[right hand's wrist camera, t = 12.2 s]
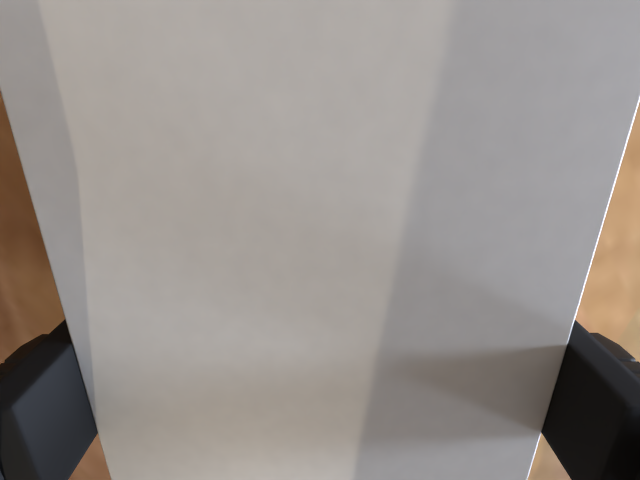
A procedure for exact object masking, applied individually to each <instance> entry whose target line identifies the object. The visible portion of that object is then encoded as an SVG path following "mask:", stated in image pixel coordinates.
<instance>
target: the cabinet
mask: <svg viewBox="0 0 640 480" xmlns="http://www.w3.org/2000/svg"><path fill="white" fill-rule="evenodd" d="M0 91H1V95H2V98H3V102H4V105H5V109H6V112H7V116H8V119H9V123H10V126H11V130H12V133H13V137H14V140H15V144H16V147H17V151H18V154H19V158H20V161H21V165H22V168H23V172H24V175H25V179H26V182H27V186H28V189H29V193H30V196H31V200H32V203H33V207H34V210H35V214H36V217H37V221H38V224H39V228H40V231H41V235H42V238H43V242H44V245H45V249H46V252H47V256H48V259H49V263H50V266H51V270H52V274H53V277H54V281H55V284H56V288H57V291H58V295H59V298H60V302H61V305H62V309H63V312H64V316H65V319H66V323H67V326H68V330H69V333H70V337H71V340H72V344H73V347H74V351H75V354H76V358H77V361H78V365H79V368H80V372H81V375H82V379H83V382H84V386H85V389H86V393H87V396H88V400H89V403H90V407H91V410H92V414H93V417H94V421H95V424H96V428H97V431H98V435H99V438H100V442H101V445H102V449H103V452H104V456H105V459H106V463H107V467H108V470H109V474H110V477H111V480H527V479H528V475H529V472H530V469H531V465H532V462H533V459H534V455H535V452H536V448H537V445H538V442H539V438H540V435H541V432H542V428H543V425H544V421H545V418H546V415H547V411H548V408H549V405H550V401H551V398H552V394H553V391H554V388H555V384H556V381H557V378H558V374H559V371H560V367H561V364H562V361H563V357H564V354H565V351H566V347H567V344H568V340H569V337H570V334H571V330H572V327H573V324H574V320H575V317H576V313H577V310H578V307H579V303H580V300H581V296H582V293H583V290H584V286H585V283H586V280H587V276H588V273H589V269H590V266H591V263H592V259H593V256H594V253H595V249H596V246H597V242H598V239H599V236H600V232H601V229H602V226H603V222H604V219H605V215H606V212H607V209H608V205H609V202H610V199H611V195H612V192H613V188H614V185H615V182H616V178H617V175H618V172H619V168H620V165H621V161H622V158H623V155H624V151H625V148H626V145H627V141H628V138H629V134H630V131H631V128H632V124H633V121H634V118H635V114H636V111H637V107H638V104H639V101H640V0H0Z"/></svg>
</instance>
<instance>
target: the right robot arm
mask: <svg viewBox="0 0 640 480" xmlns="http://www.w3.org/2000/svg"><path fill="white" fill-rule="evenodd" d="M97 433H98V431H97V428H96V424H95V421H94V417H93V414H92V410H91V407H90V403H89V400H88V396H87V393H86V389H85V386H84V382H83V379H82V375H81V372H80V368H79V365H78V361H77V358H76V354H75V351H74V347H73V344H72V340H71V337H70V333H69V330H68V326H67V323H66V319H65V320H64V321H63V322H62V323H61V324H59V325H58V326H57V327H56V328H55V329H54V330H53V331H52V332H51V333H50V334H42V335H40V336H38V337H36V338H35V339H33V340H31V341H29V342H28V343H26V344H24V345H22V346H21V347H19V348H18V349H17V350H16V351H15V352H14V353H13V354H11V355H10V356H9V357H8V358H7V359H6V360H5V363H1V364H0V480H68V479H69V477H70V476H71V474H72V473H73V471H74V469H75V468H76V466H77V465H78V463H79V462H80V460H81V458H82V457H83V455H84V454H85V452H86V451H87V449H88V447H89V446H90V444H91V443H92V441H93V440H94V438H95V436H96V435H97ZM542 434H543V435H544V437H545V439H546V440H547V442H548V443H549V445H550V447H551V448H552V450H553V451H554V453H555V454H556V456H557V458H558V459H559V461H560V462H561V464H562V465H563V467H564V469H565V470H566V472H567V473H568V475H569V476H570V478H571V480H640V363H639V362H636V361H635V358H634V357H632V356H631V355H630V354H629V353H628V352H627V351H626V350H624V349H623V348H622V347H621V346H620V345H618V344H617V343H615V342H613V341H611V340H610V339H608V338H606V337H604V336H602V335H601V334H599V333H589V332H588V331H587V330H586V329H584V328H583V327H582V326H581V325H580V324H579V323H578V322H577V321H576V320H574V324H573V327H572V330H571V334H570V337H569V340H568V344H567V347H566V351H565V354H564V357H563V361H562V364H561V367H560V371H559V374H558V378H557V381H556V384H555V388H554V391H553V394H552V398H551V401H550V405H549V408H548V411H547V415H546V418H545V421H544V425H543V428H542Z"/></svg>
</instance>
